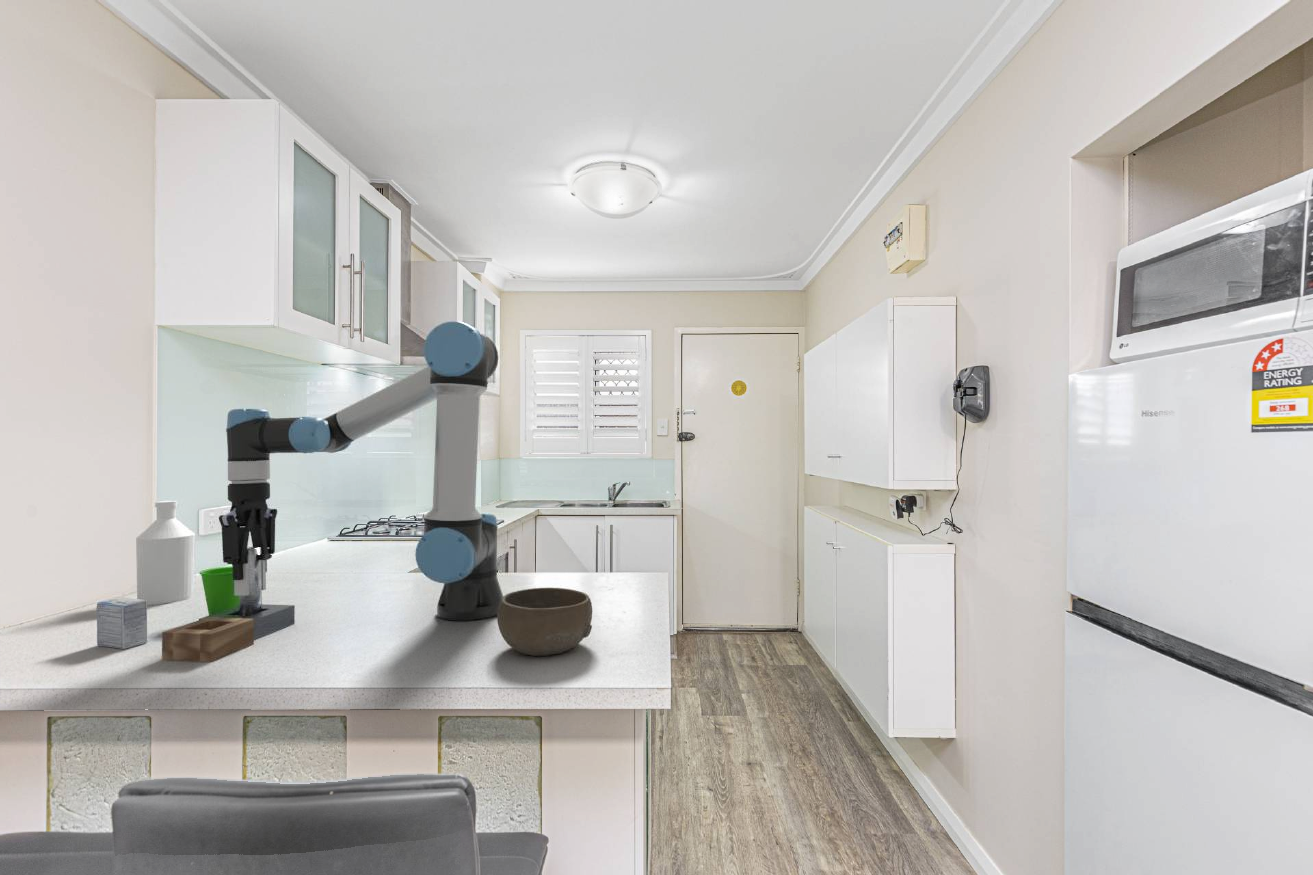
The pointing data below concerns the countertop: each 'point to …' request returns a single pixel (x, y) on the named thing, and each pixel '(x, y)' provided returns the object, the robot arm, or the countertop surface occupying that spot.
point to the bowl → (544, 620)
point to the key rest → (207, 639)
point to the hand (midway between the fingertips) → (250, 592)
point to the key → (253, 583)
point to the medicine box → (122, 622)
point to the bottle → (165, 558)
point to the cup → (219, 589)
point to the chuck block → (264, 618)
